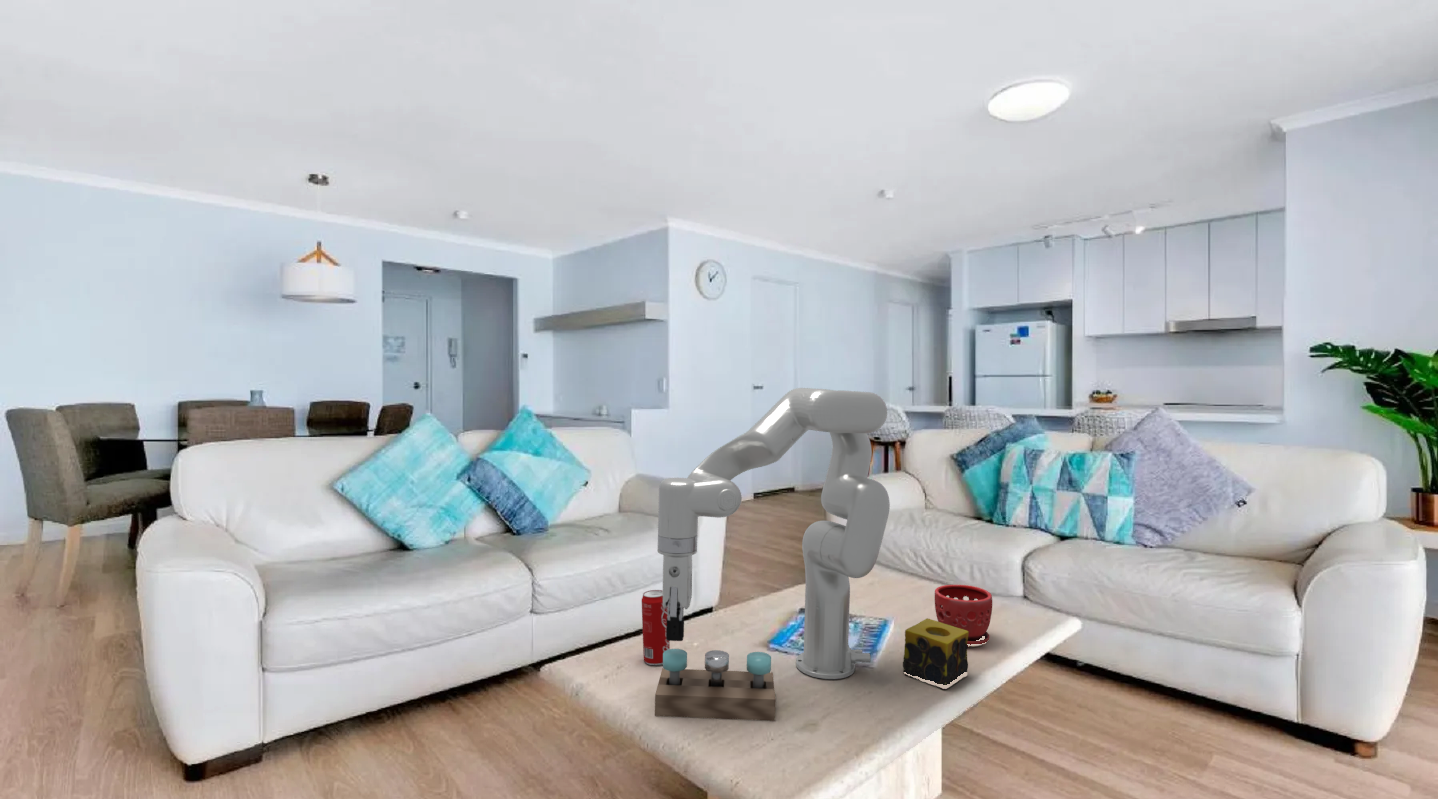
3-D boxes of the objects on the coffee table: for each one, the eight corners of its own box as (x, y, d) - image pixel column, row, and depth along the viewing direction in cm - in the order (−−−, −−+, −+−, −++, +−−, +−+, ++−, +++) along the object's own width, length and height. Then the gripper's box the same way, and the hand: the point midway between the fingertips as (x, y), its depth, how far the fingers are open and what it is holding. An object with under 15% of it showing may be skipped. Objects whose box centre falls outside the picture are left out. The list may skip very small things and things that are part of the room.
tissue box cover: (925, 661, 150) (926, 617, 149) (968, 676, 142) (970, 630, 142) (901, 675, 142) (902, 628, 142) (946, 692, 135) (947, 643, 135)
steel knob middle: (728, 683, 130) (729, 650, 130) (728, 694, 126) (728, 660, 125) (704, 682, 130) (705, 649, 130) (703, 693, 126) (704, 659, 125)
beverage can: (665, 668, 143) (667, 598, 142) (636, 664, 144) (637, 595, 144) (673, 656, 149) (674, 589, 148) (645, 653, 150) (646, 587, 149)
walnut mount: (772, 692, 133) (772, 672, 133) (774, 721, 122) (775, 699, 122) (661, 687, 134) (662, 668, 134) (654, 716, 123) (655, 694, 123)
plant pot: (965, 627, 170) (967, 581, 170) (1003, 648, 158) (1005, 597, 157) (922, 632, 166) (923, 585, 166) (956, 654, 154) (958, 602, 153)
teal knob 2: (769, 684, 130) (770, 652, 130) (770, 696, 125) (771, 662, 125) (746, 683, 130) (746, 651, 130) (746, 695, 125) (747, 661, 125)
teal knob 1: (687, 681, 130) (688, 649, 130) (685, 692, 126) (686, 659, 126) (663, 680, 131) (664, 648, 130) (661, 691, 126) (661, 658, 126)
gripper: (694, 555, 119) (691, 656, 120) (699, 535, 134) (697, 625, 135) (652, 553, 120) (650, 654, 120) (662, 533, 135) (660, 623, 135)
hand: (675, 639), depth 128 cm, fingers closed
